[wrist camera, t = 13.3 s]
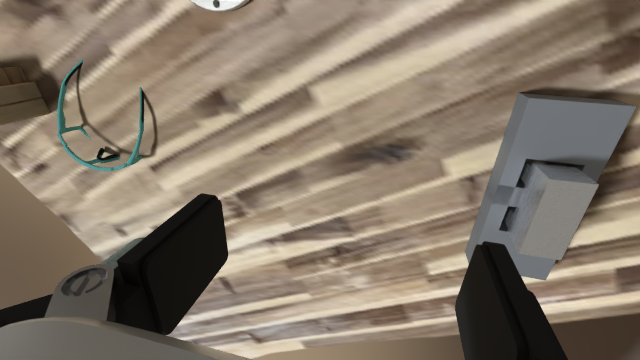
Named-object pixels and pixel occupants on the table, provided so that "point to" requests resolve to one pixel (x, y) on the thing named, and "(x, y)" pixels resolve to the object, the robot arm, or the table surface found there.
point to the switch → (546, 159)
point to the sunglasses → (110, 158)
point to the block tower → (19, 97)
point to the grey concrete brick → (548, 208)
